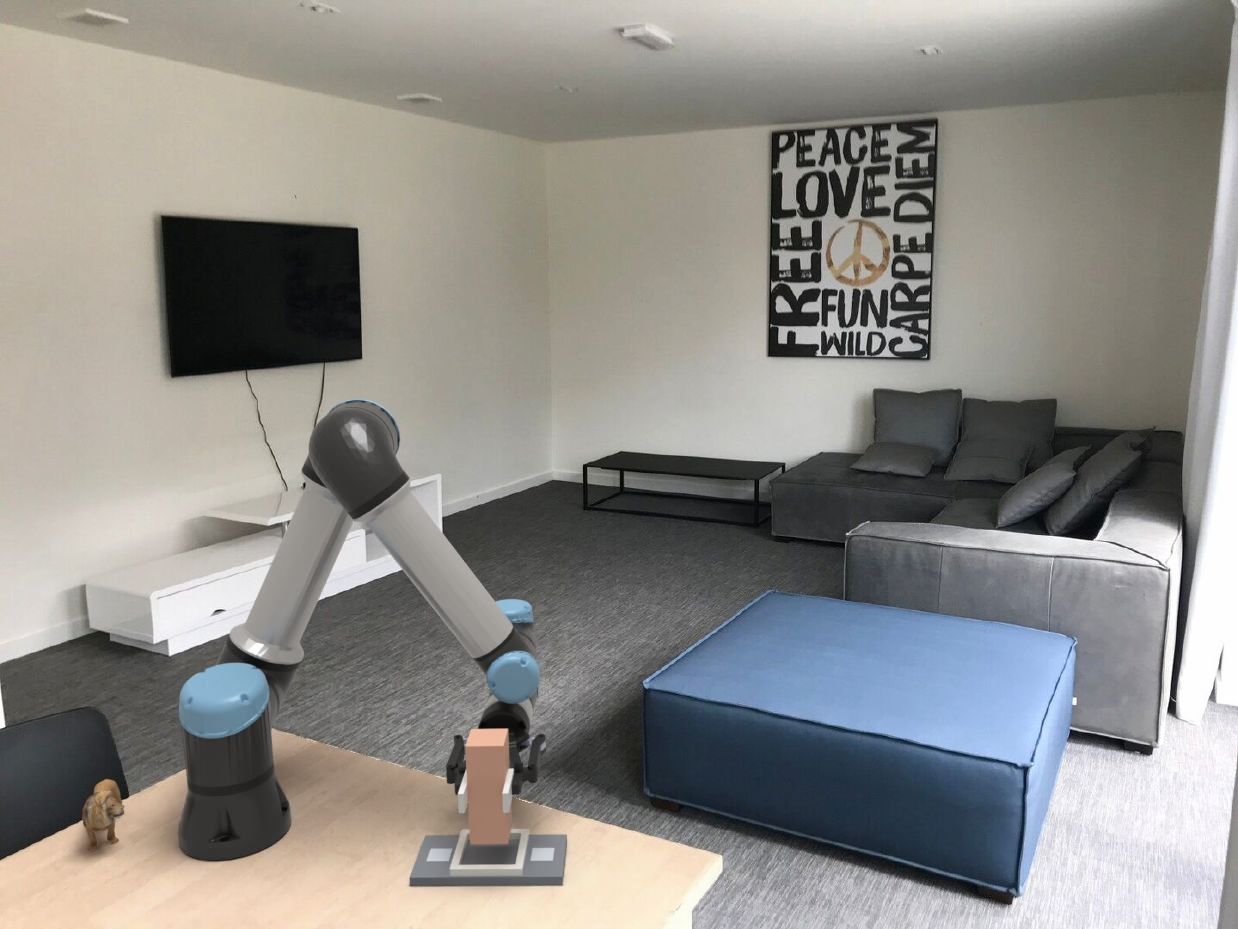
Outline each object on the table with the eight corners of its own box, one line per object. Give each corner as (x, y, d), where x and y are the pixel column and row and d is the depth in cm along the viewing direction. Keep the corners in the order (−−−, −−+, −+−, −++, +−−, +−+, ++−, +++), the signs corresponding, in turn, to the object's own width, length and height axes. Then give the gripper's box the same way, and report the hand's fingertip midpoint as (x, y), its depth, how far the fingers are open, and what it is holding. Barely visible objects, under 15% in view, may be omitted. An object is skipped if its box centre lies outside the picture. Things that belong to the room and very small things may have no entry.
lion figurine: (129, 853, 137) (123, 794, 136) (86, 864, 135) (79, 804, 133) (124, 805, 150) (118, 750, 148) (84, 815, 147) (78, 759, 146)
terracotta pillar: (470, 844, 131) (465, 746, 128) (476, 824, 136) (471, 729, 133) (507, 844, 131) (503, 746, 128) (512, 823, 135) (508, 728, 133)
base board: (409, 886, 129) (409, 870, 129) (425, 843, 139) (424, 828, 138) (562, 885, 129) (562, 869, 128) (567, 842, 139) (566, 828, 138)
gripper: (565, 745, 150) (554, 829, 127) (447, 746, 150) (415, 831, 127) (564, 699, 148) (552, 775, 126) (445, 700, 149) (411, 777, 126)
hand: (483, 803), depth 126 cm, fingers closed on terracotta pillar, 5 cm apart
